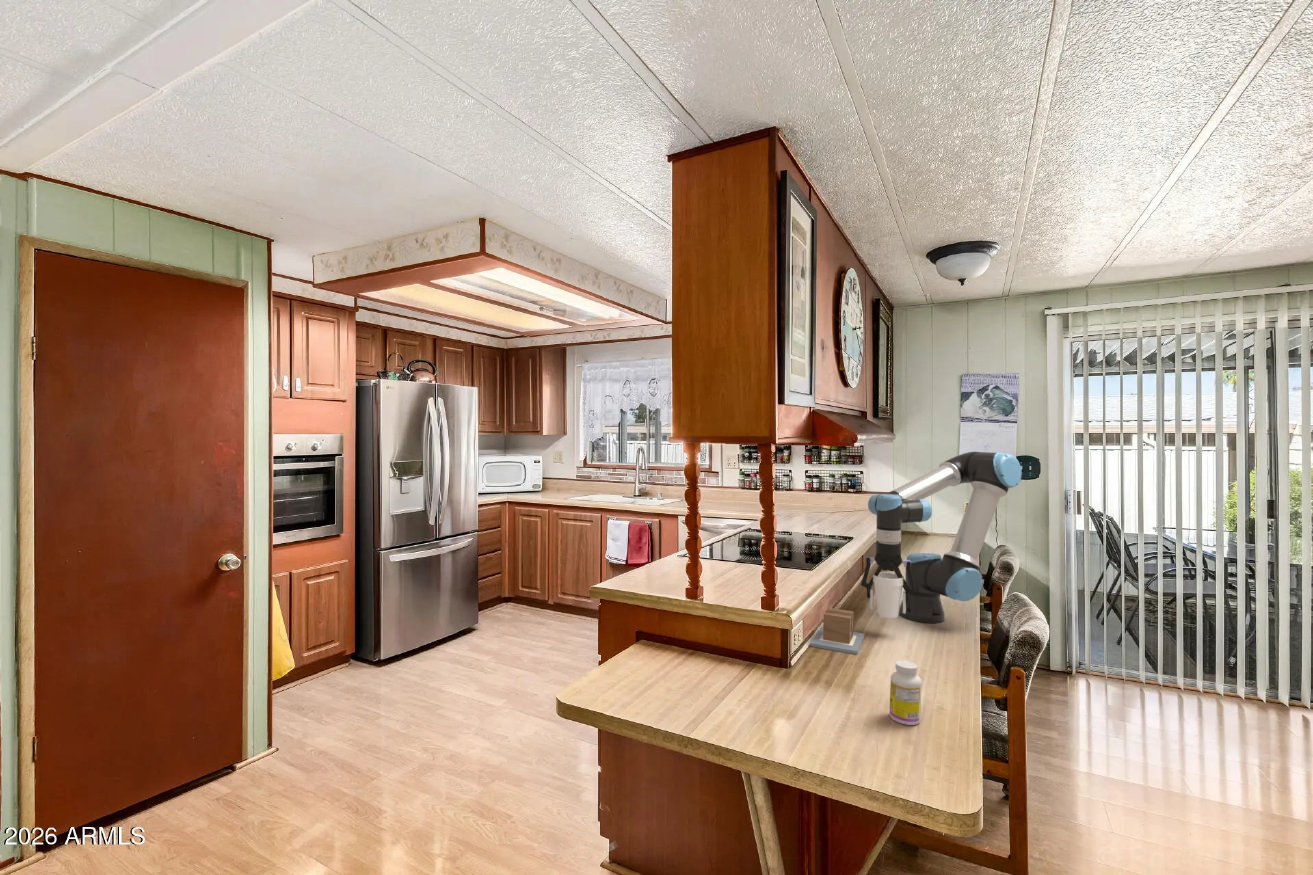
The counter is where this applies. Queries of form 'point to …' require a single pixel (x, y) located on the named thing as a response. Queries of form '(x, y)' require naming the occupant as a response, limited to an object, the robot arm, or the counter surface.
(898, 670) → the supplement bottle
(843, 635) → the walnut cube
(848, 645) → the blue flat board
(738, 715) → the counter surface
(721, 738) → the counter surface
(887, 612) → the foam cup
